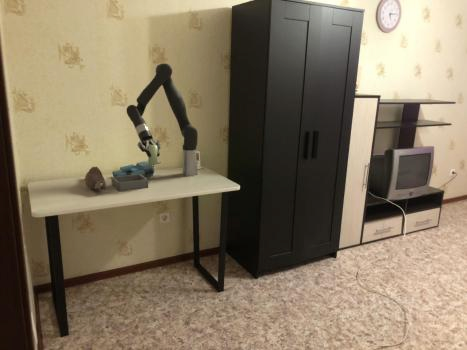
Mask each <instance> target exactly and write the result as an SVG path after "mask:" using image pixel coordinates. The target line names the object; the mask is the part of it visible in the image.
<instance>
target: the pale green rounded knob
mask: <svg viewBox="0 0 467 350" xmlns="http://www.w3.org/2000/svg"><path fill="white" fill-rule="evenodd" d="M148 150H149V152H150V154H151V157H148V156H147V157H148V160H147V161H148V162H147V163H148V164H150V165H152V166H153V165H154V166H156V165H158V164H157V161H158V157H157V145H148Z"/></svg>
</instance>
